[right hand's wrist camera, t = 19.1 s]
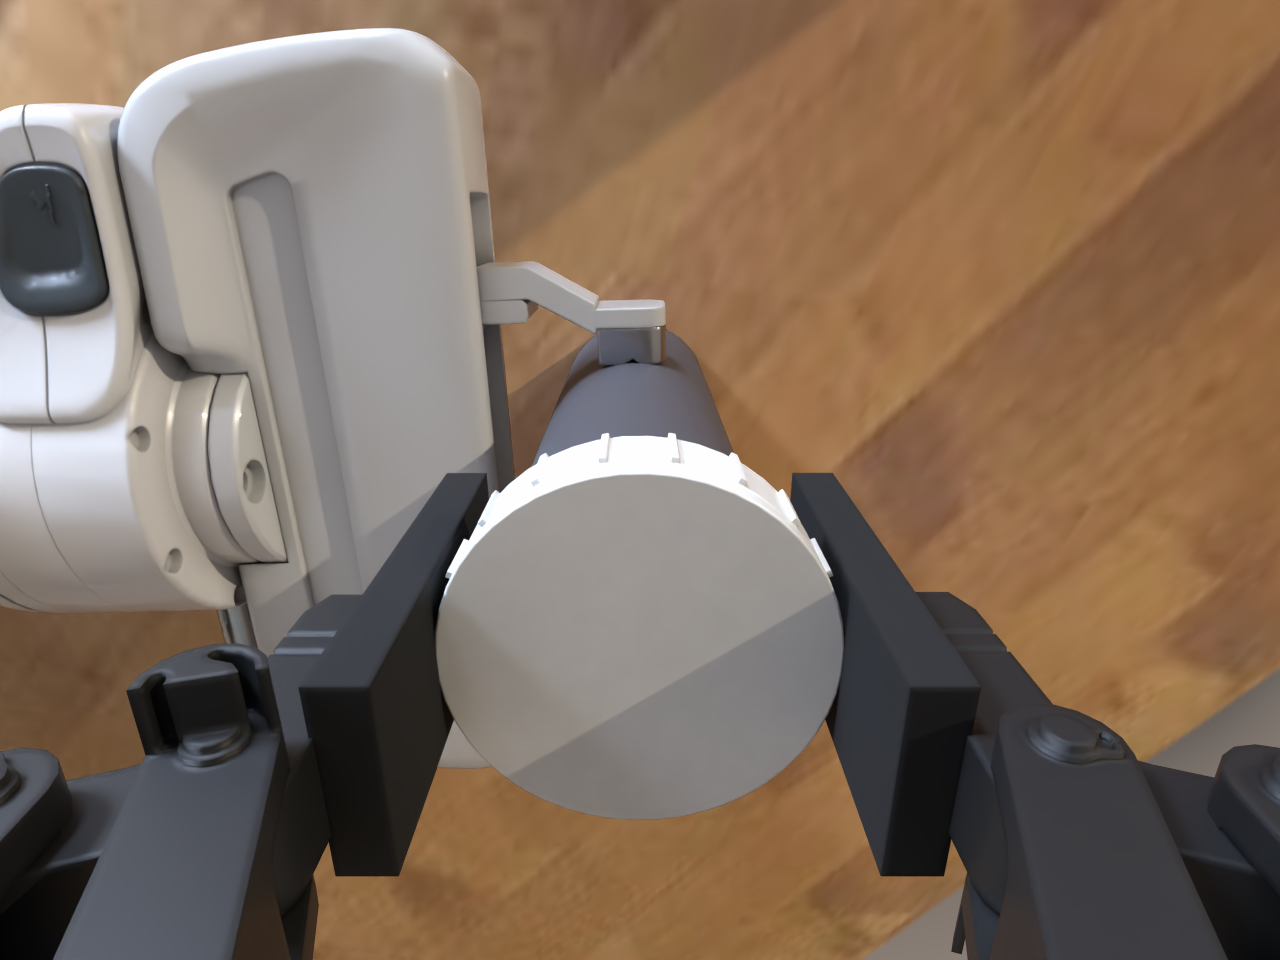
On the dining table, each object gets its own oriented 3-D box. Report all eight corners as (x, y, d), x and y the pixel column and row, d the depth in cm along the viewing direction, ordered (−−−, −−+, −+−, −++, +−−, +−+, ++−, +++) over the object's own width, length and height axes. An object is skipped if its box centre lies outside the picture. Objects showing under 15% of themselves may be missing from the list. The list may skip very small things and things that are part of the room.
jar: (598, 473, 28) (559, 746, 14) (546, 352, 26) (442, 520, 12) (722, 428, 27) (812, 665, 13) (676, 301, 26) (724, 417, 12)
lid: (825, 413, 11) (854, 448, 9) (824, 740, 13) (848, 811, 11) (424, 446, 11) (390, 486, 10) (488, 764, 13) (469, 836, 12)
